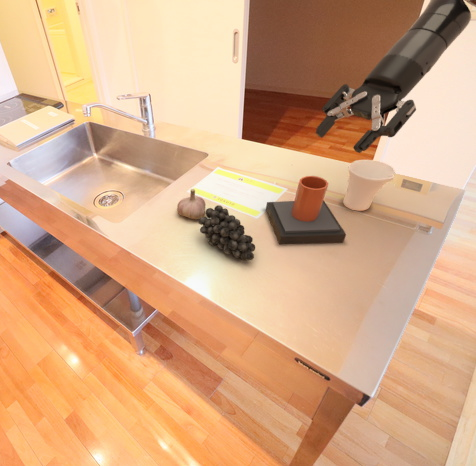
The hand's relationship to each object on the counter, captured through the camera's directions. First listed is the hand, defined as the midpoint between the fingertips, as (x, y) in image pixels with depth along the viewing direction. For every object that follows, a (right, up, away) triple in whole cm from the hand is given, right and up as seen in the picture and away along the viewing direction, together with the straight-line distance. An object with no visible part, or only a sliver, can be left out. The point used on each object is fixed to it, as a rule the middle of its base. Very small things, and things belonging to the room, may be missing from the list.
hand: (336, 142), depth 63 cm
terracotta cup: (-1, -14, +10) cm, 17 cm away
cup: (+15, -11, +15) cm, 24 cm away
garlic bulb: (-24, -13, +21) cm, 35 cm away
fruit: (-19, -21, +10) cm, 30 cm away
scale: (0, -16, +12) cm, 20 cm away
